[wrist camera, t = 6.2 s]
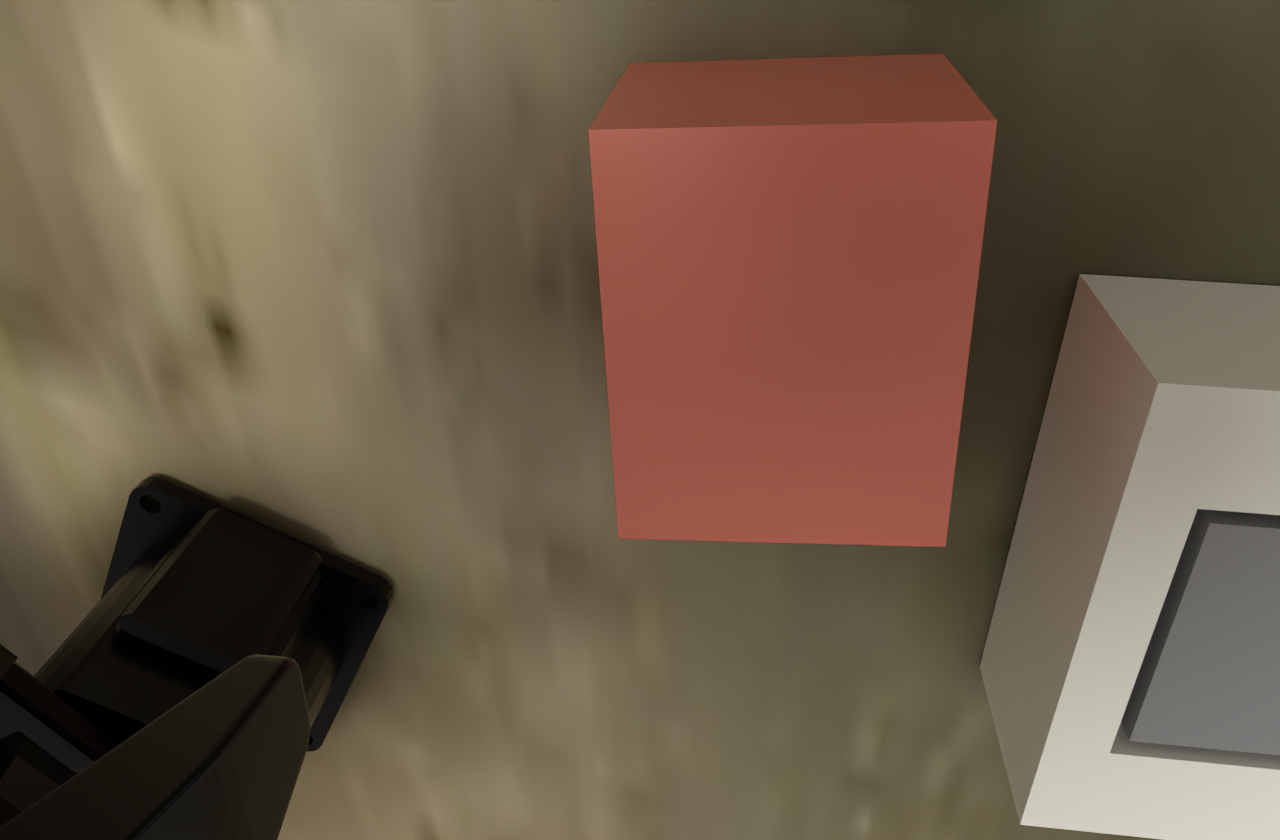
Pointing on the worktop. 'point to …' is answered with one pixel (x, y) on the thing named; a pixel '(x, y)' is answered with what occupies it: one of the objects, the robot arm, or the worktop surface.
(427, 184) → the worktop surface
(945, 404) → the salmon red block
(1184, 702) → the button
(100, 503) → the worktop surface
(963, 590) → the worktop surface
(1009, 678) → the box
